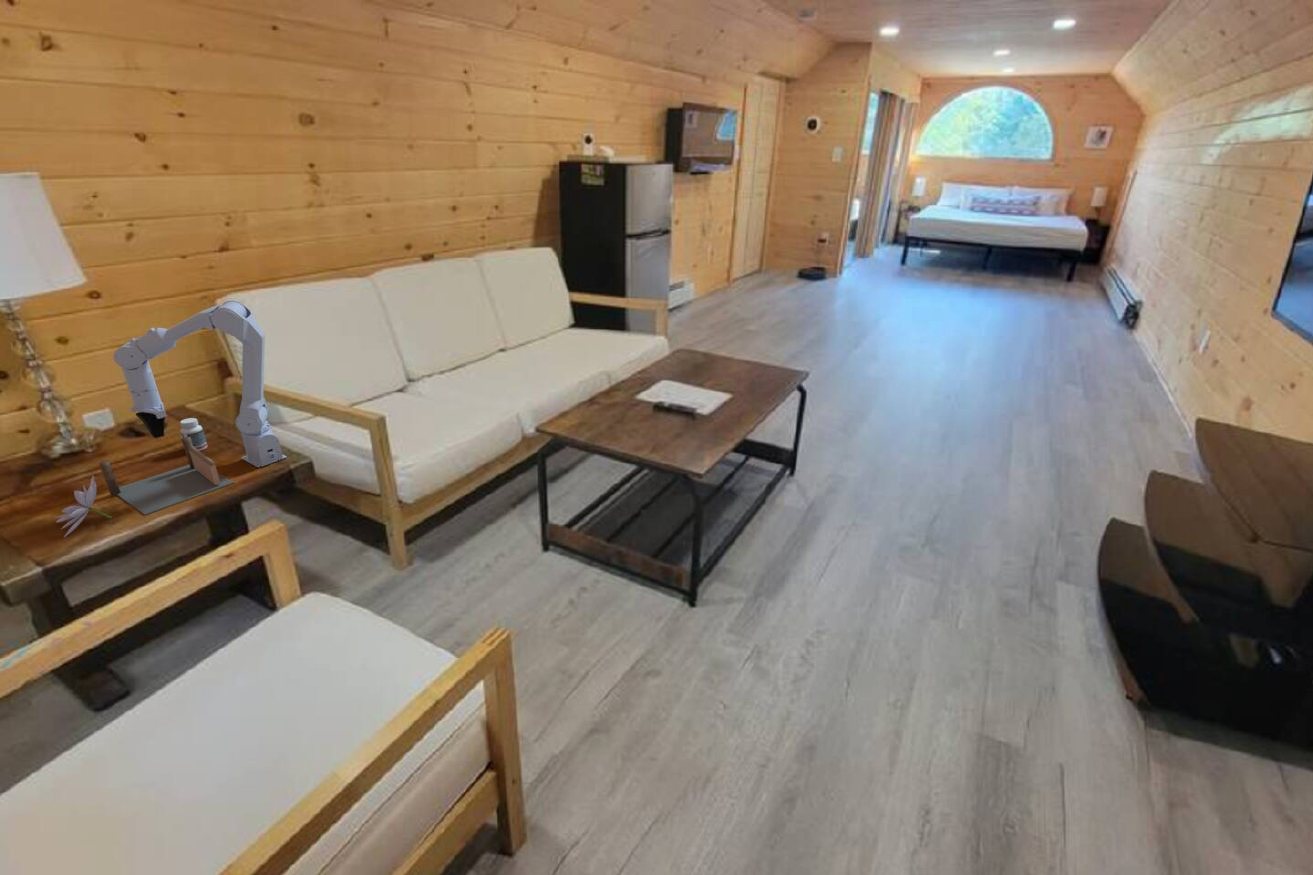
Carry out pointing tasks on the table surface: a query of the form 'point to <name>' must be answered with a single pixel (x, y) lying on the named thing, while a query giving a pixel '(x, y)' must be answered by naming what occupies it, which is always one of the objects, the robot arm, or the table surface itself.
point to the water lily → (80, 507)
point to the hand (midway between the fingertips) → (158, 436)
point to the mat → (168, 489)
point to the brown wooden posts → (110, 475)
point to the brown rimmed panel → (204, 465)
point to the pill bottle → (194, 433)
